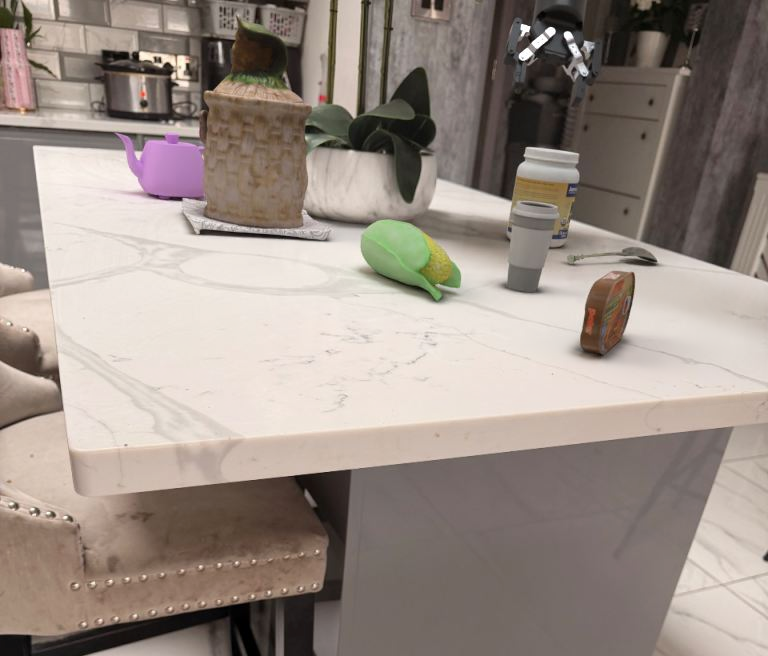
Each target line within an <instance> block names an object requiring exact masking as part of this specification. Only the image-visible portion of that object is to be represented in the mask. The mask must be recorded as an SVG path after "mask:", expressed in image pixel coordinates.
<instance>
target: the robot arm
mask: <svg viewBox="0 0 768 656" xmlns="http://www.w3.org/2000/svg"><path fill="white" fill-rule="evenodd" d="M587 2H588V0H535V3H534V11H533V16H532V17H533V18H532V24H531V25H530V26H529V25H526V24H523V20H522V18H521V17H515V18H514V19H513V21H512V25H511V27H510V30H509V33H508V37H507V41H506V46H505V49H504V50H505V51H504V54H503V59H502V60H503V61H502V63H503V64H504V65H506V66H509V65H510V66H511V67H512V68H513V75H512V76H513V77H512V82H511V86H512V87H511V88H512V89H515V90H514V93H515V94H519V95H521V93H522V90H523V88H524V85H525V80H526V74H527V66H530V65H532V64H533V63H534V62H535V61H537V60H539V61H540V63H542V64H551V65H553V66H555V67H558V68H561V67H562V68H563V71H564V72H565V74H566V75H567V76H569V77H570V79H571V80H572V82H573V84H572V88H571V94H570V95H571V96H570V102H569V107H570V108H574V109H575V108H576V107H577V105H580V103H581V101H582V100H583V98H584V97H585V91H586V85H587V86H588V87H593V86H594V85H595V83H596V81H597V79H598V77H600V74H601V71H602V57H603V45H604V43H603V40H602V39H601V38H596V39H595V40H594V41H593V42H592V41H589V40H585V38H584V36H583V35H584V34H583V29H584V25H585V24H584V22H585V16H586V10H587ZM524 37H526V38H527V41H528V44H529V45H528V46H527V47H526V48H525V49H523V51H522V52H518V51H517V48H518V43H519V42H521V41H522V40H523V38H524ZM581 51H582V52H583V53H584V57H585V61H587V66H586V64H585V62H584V57H583V54H582V53H581Z"/></svg>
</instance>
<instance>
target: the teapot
mask: <svg viewBox="0 0 768 656" xmlns="http://www.w3.org/2000/svg"><path fill="white" fill-rule="evenodd" d="M114 134H115V135H117V136H118V137H119V138H120V139H121V141H122V142H123V144H124V148H125V153H126V154H125V155H126V160H127V165H128V168H129V170H130V171H131V173H132V174H133V175H134V177H136V178H137V181H138V183H139V185H140V187H141V189H142V190H143V191H144V192H146V193H147V194H150V195H154V196H158V199H162V200H171V197H178V198H187V199H193V200H197V198H198V197H199V198H201V197H204V196H206V195H205V193H204V189H203V165H204V159H203V155H202V153H201V152H204V147H205V146H202V145H199V146H197V145H196V144H194V143H190V142H183V141H179V139H180V134H178V133H174V132H165V133H164V137H165V140H162V139H161V140H157V139H154V140H153V139H150V140H149V139H148V140H147V141H146V142H145V144H144V147H143V149H142V151H141V154H140V157H139V159H138V158H137V156H136V152H135V148H134V144H133V141H132V139H131V138H130V137H129V136H127V135H125V134H121V133H118V132H114Z"/></svg>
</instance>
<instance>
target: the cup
mask: <svg viewBox="0 0 768 656" xmlns="http://www.w3.org/2000/svg"><path fill="white" fill-rule="evenodd" d="M557 210H558V207H557V206H555V205H551V204H547V203H541V202H533V201H518V202H517V204H516V207H514V208H513V209H512V211H511V212H512V213H513V214H514V223H513V224H512V232H511V240H510V242H509V252H508V260H507V261H508V270H507V277H506V287H507V288H508V289H509V290H513V291H518V292H523V293H534V292H537V291H538V287H539V284H540V279H541V275H542V273H543V269H544V268H545V264H546V260H547V258H548V254H549V250H550V247H549V246H550V243H551V239H552V235H553V232H554V224H555V220H557V219H558V218H560V215H559V213H558V212H557Z"/></svg>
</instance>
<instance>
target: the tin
mask: <svg viewBox="0 0 768 656" xmlns="http://www.w3.org/2000/svg"><path fill="white" fill-rule="evenodd" d="M635 289H636V275H635V272H634V271H623V270H612V271H609V272H608V273H607V274H605V275H603V276H602V277H600V278H599V279H597V280H596V281H594V283H593V284H592V286H591V287H590V289H589V291H588V294H587V297H586V301H585V305H584V316H583V322H582V326H581V327H582V329H581V333H580V336H579V338H580V339H579V343H580V347H581V349H582V350H583V351H586V352H590V353H596V354H600V355H602V356H604V355H606V354H607V353H608V352H609V351H610V350H611V349H612V348H613V347H614V346H615V345H617V343H618V342H619V341H620V340H621V339H622V337H623V335H624V333H625V331H626V328H627V325H628V323H629V319H630V314H631V310H632V307H633V302H634V297H635Z"/></svg>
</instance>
